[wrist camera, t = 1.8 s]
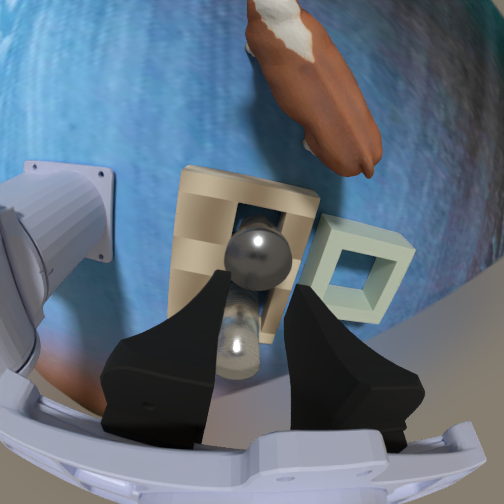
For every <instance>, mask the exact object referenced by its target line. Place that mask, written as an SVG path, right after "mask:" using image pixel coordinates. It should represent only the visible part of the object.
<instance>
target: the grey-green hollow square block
mask: <svg viewBox="0 0 504 504" xmlns="http://www.w3.org/2000/svg"><path fill="white" fill-rule="evenodd" d="M342 249H344V250H349V251H353V252H358V253H362V254H367V255H371V256H376V260H375V262H374V264H373V267H372V269H371V271H370V274H369V276H368V278H367V280H366V282H365V285H364V287H363V289H362V290H360V289H354V288H348V287H342V286H336V285H330V284H329V282H330V279H331V277H332V274H333V272H334V269H335V267H336V264H337V262H338V259H339V256H340V254H341V251H342ZM415 251H416V250H415V249H414V248H413V246H412V245H411V244H410V243H409V242H408V241H407V240H406V239H405V238H404V237H403V236H402V235H401V234H400V233H397V232H393V231H390V230H386V229H383V228H379V227H375V226H371V225H368V224H364V223H360V222H356V221H352V220H348V219H344V218H340V217H336V216H332V215H328V214H324V213H322V214H321V217H320V220H319V223H318V226H317V230H316V233H315V236H314V239H313V242H312V245H311V248H310V251H309V254H308V257H307V260H306V263H305V266H304V269H303V272H302V274H301V277H300V280H299V283H298V284H301V285H307V286H310V287H311V288H312V289H313V290H314V291H315V293H316V294H317V295H318V296H319V297H320V299H321V300H322V301H323V302H324V303H325V305H326V306H327V307H328V308H329V309H330V311H331V312H332V313H333V314H334V315H335V316H336V317H337V318H338V319H340V320H348V321H357V322H365V323H374V324H379V323H380V321H381V319H382V317H383V315H384V314H385V312H386V310H387V308H388V306H389V304H390V303H391V301H392V299H393V297H394V295H395V293H396V291H397V289H398V287H399V285H400V283H401V281H402V279H403V277H404V275H405V273H406V271H407V269H408V266H409V264H410V262H411V260H412V258H413V256H414V253H415Z"/></svg>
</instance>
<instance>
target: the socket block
mask: <svg viewBox="0 0 504 504" xmlns="http://www.w3.org/2000/svg"><path fill="white" fill-rule="evenodd" d="M238 202H239V203H244V204H249V205H254V206H259V207H264V208H269V209H273V210H278V211H282V212H281V216H280V220H279V223H278V227H277V231H279V232H280V233H281V234H282V235H283V236H284V237H285V238H286V240H287V241H288V243H289V246H290V250H291V254H292V268H291V271H290V273H289V275H288V276H287V278H286V279H285V280H284V281H283V282H282V283H281V284H279V285H278V286H276V287H274V288H271V289H269V291H268V295H267V298H266V301H265V305H264V308H263V311H262V315H261V317H259V343H266V344H272V342H273V339H274V337H275V334H276V331H277V328H278V326H279V323H280V320H281V317H282V315H283V312H284V309H285V306H286V303H287V301H288V298H289V295H290V292H291V289H292V286H293V283H294V280H295V277H296V274H297V271H298V268H299V265H300V262H301V259H302V256H303V253H304V250H305V247H306V244H307V241H308V238H309V235H310V232H311V228H312V225H313V222H314V219H315V216H316V212H317V209H318V206H319V202H320V197H319V196H318V195H317V193H316V192H315V191H314V190H310V189H306V188H302V187H298V186H294V185H289V184H285V183H281V182H276V181H272V180H267V179H262V178H258V177H253V176H248V175H243V174H238V173H233V172H228V171H222V170H217V169H211V168H206V167H200V166H194V165H187V166H186V167H185V168H184V169H182V170H181V177H180V185H179V192H178V200H177V208H176V216H175V225H174V235H173V245H172V256H171V268H170V281H169V297H168V316H167V319H168V318H170V317H171V316H173V315H174V314H176V313H177V312H178V311H180V310H181V309H182V308H183V307H184V306H186V305H187V304H188V303H189V302H190V301H191V300H192V299H193V298H194V297H195V296H196V295H197V294H198V293H199V292H200V291H201V290H202V288H203V287H204V286H205V285H206V284H207V282H208V281H209V280H210V278H211V277H212V275H213V273H214V271H215V270H217V269H219V270H224V271H226V270H225V266H224V256H225V250H226V246H227V244H228V242H229V240H230V238H231V237H232V236H233V235H231V234H232V230H233V225H234V220H235V215H236V210H237V205H238Z"/></svg>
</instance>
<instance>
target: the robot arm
mask: <svg viewBox="0 0 504 504" xmlns="http://www.w3.org/2000/svg"><path fill="white" fill-rule="evenodd" d="M35 165H36V166H37V169H36V167H35ZM101 171H102V172H103V173H104V177H102V176H101V174H100V173H101ZM113 190H114V171H113V170H112V169H111V168H107V167H98V166H89V165H80V164H71V163H60V162H49V161H36V160H28V161H26V162H25V163H24V173H22V174H20V175H18V176H16V177H14V178H11V179H9V180H7V181H5V182H3V183H1V184H0V441H1V442H2V443H3V444H4V445H5V446H6V447H7V448H8V449H10V450H11V451H13V452H14V453H16V454H18V455H19V456H21V457H23V458H24V459H26V460H28V461H30V462H31V463H33V464H35V465H36V466H38V467H40V468H42V469H44V470H46V471H47V472H49V473H51V474H53V475H55V476H57V477H59V478H61V479H63V480H65V481H67V482H69V483H71V484H73V485H75V486H77V487H80V488H82V489H84V490H86V491H89V492H91V493H94V494H96V495H98V496H101V497H103V498H106V499H109V500H111V501H114V502H117V503H120V504H403V503H406V502H409V501H412V500H414V499H417V498H420V497H422V496H425V495H428V494H430V493H433V492H435V491H438V490H440V489H443V488H445V487H447V486H450V485H452V484H454V483H455V482H457V481H458V480H460V479H461V478H463V477H464V476H466V475H467V474H469V473H471V472H472V471H474V470H475V469H476V468H478V467H479V466H481V465H482V464H483V463H485V462H486V457H485V455H484V452H483V449H482V447H481V444H480V442H479V440H478V437H477V435H476V433H475V430H474V428H473V426H472V424H471V422H470V421H467V422H463V423H460V424H456V425H454V426H452V427H450V428H449V429H448V430H447V431H446V432H445V433H443V435H441V436H437V437H433V438H429V439H424V440H419V441H414V442H409V443H407V442H406V439H405V435H404V433H403V431H404V430H405V429H406V428H407V426H406V423H405V420H406V419H407V418H408V417H409V416H410V414H412V413H413V412H414V411H415V410H416V409H417V408H418V406H419V405H420V404H421V403H422V401H423V399H424V396H425V391H424V388H423V386H422V384H421V382H420V380H419V377H418V375H417V374H415V373H412V372H410V371H408V370H406V369H404V368H402V367H400V366H398V365H396V364H394V363H393V362H391V361H389V360H387V359H386V358H384V357H383V356H381V355H379V354H378V353H376V352H375V351H374V350H372V349H371V348H370V347H368V346H367V345H366V344H364V343H363V342H362V341H361V340H359V339H358V338H357V337H356V336H355V335H354V334H353V333H351V332H350V331H349V330H348V329H347V328H346V327H345V326H344V325H343V324H342V323H341V322H340V321H339V319H338V318H337V317H336V316H335V315H334V314H333V313H332V312H331V311H330V309H329V308H328V307H327V306H326V305H325V303H324V302H323V301H322V300H321V299H320V297H319V296H318V295H317V294H316V293H315V291H314V290H313V289H312V288H311V287H310V286H307V285H301V284H296V286H295V289H294V292H293V295H292V298H291V300H290V303H289V306H288V309H287V312H286V314H285V317H284V341H285V348H286V355H287V361H288V368H289V375H290V384H291V429H290V430H287V431H286V430H285V431H275V432H272V433H268V434H264V435H261V436H260V437H259V438H257V439H256V440H255V441H254V442H252V443H251V444H250V445H249V447H248V449H247V450H243V449H233V448H225V447H217V446H209V445H203V444H201V443H202V438H203V433H204V429H205V425H206V421H207V416H208V411H209V407H210V402H211V397H212V393H213V388H214V381H215V373H216V359H217V347H218V337H219V333H220V330H221V325H222V320H223V315H224V310H225V306H226V301H227V296H228V291H229V286H230V282H231V272H230V271H224V270H219V269H217V270H215V271H214V273H213V275H212V277H211V278H210V280H209V281H208V282H207V284H206V285H205V286H204V287H203V288H202V290H201V291H200V292H199V293H198V294H197V295H196V296H195V297H194V298H193V299H192V300H191V301H190V302H189V303H188V304H187V305H186V306H184V307H183V308H182V309H181V310H180V311H178V312H177V313H176V314H174V315H173V316H171V317H170V318H168V319H167V320H165V321H164V322H162V323H160V324H159V325H157V326H155V327H153V328H151V329H149V330H147V331H145V332H143V333H140V334H137V335H135V336H132V337H129V338H126V339H123V340H121V341H120V342H119V343H118V345H117V346H116V348H115V349H114V350H113V352H112V353H111V355H110V356H109V358H108V360H107V362H106V365H105V367H104V369H103V372H102V374H101V376H100V381H101V386H102V389H103V393H104V396H105V399H106V402H107V407H106V409H105V412H104V415H103V418H102V420H101V419H99V418H95V417H93V416H90V415H87V414H85V413H82V412H79V411H77V410H74V409H72V408H69V407H67V406H64V405H62V404H60V403H57V402H55V401H53V400H50V399H48V398H46V397H44V396H42V395H40V393H39V391H38V389H37V387H36V385H35V384H34V383H33V382H32V381H31V380H29V379H27V378H26V377H27V376H28V375H29V374H30V373H31V371H32V370H33V368H34V367H35V365H36V363H37V361H38V358H39V355H40V348H41V344H40V338H39V335H38V332H37V330H36V328H37V327H38V326H39V324H40V323H41V322H42V320H43V319H44V318H45V316H44V313H43V305H44V303H45V302H46V301H47V300H48V299H49V297H50V296H51V295H52V294H53V293H54V291H55V290H56V289H57V288H58V287H59V286H60V284H61V283H62V282H63V281H64V280H65V279H66V278H67V276H68V275H69V274H70V273H71V272H72V271H73V270H74V269H75V268H76V266H77V265H78V264H79V263H80V262H81V261H82V260H83V259H84V258H88V259H92V260H96V261H100V262H105V263H110V262H111V260H112V259H113V239H112V224H113ZM100 254H102V255H103V257H101V255H100Z"/></svg>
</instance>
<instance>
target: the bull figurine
mask: <svg viewBox="0 0 504 504" xmlns="http://www.w3.org/2000/svg"><path fill="white" fill-rule="evenodd" d="M247 18H248V25H247V28H246V32H245V35H246V40H247V43H246V45H245V49H246V51H247V52H248V53H251V54H252V56H253V57H256V59H257V60H258V62H259V65H260V67H261V70H262V72H263V74H264V77H265V79H266V81H267V83H268V84H269V86H270V89H271V91H272V94H273V96H274V98H275V100H276V102H277V103H278V105H279V106H280V108H281V109H282V110H283V111H284V112H285V113H286V114H287V115H288V116H289V117H290V118H292V119H293V120H294V121H296V122H297V123H299V124H300V125H301V126H302V127H303V128H304V130H305V138H304V139H303V146H304V147H305V149H306V150H307V151H310V152H311V153H312V155H314V156H315V155H316V156H317V157H318V158H319V160H320V161H321V162H322V163H323V164H324V165H326V166H327V167H328V168H329V169H331V170H332V171H334V172H335V173H337V174H338V175H340V176H343V177H351V176H356V175H358V174H360V173H361V172H362V173H363V174H364V175H365V177H366V178H368V179H370V178H371V177H372V176H373V173H374V166H375V165H376V164H377V163H378V162H379V161H380V160H381V158H382V142H381V134H380V131H379V129H378V126H377V125H376V123H375V121H374V119H373V116H372V114H371V112H370V111H369V109H368V107H367V105H366V101H365V99H364V97H363V95H362V92H361V90H360V88H359V86H358V84H357V81H356V79H355V77H354V75H353V73H352V71H351V70H350V68H349V67H348V65H347V63H346V62H345V60H344V59H343V57H342V55H341V54H340V53H339V51H338V50H337V48H336V46H335V45H334V43H333V42H332V40H331V38H330V37H329V35H328V33H327V32H326V30H325V28H324V27H323V26H322V25H321V24H320V23H319V22H318V21H317V20H316V19H315V18H313V17H312V16H311V15H310V14H309V13H308V12H307V11H305V10H304V9H302V8H301V7H300V5H299V2H298V1H297V0H247Z"/></svg>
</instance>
